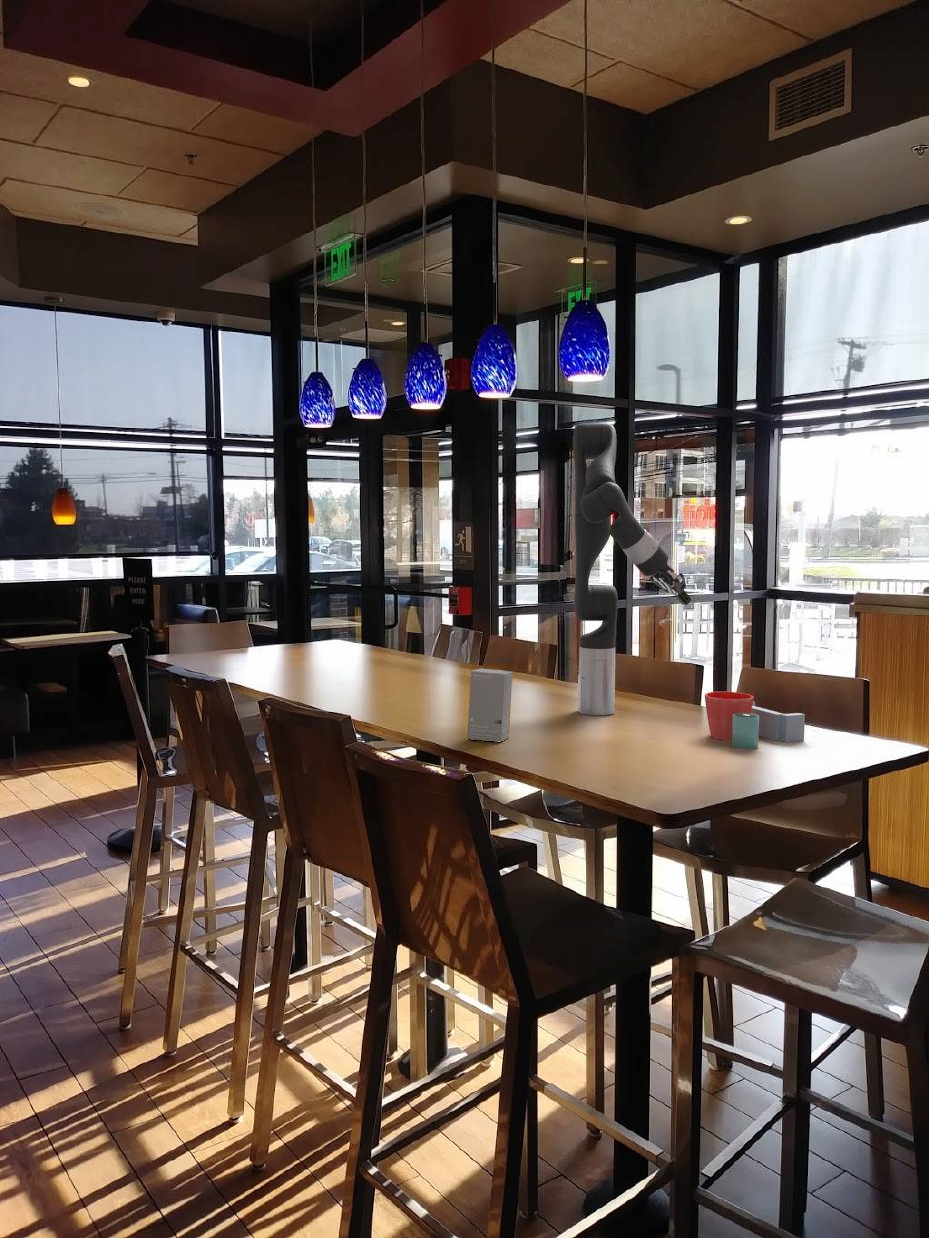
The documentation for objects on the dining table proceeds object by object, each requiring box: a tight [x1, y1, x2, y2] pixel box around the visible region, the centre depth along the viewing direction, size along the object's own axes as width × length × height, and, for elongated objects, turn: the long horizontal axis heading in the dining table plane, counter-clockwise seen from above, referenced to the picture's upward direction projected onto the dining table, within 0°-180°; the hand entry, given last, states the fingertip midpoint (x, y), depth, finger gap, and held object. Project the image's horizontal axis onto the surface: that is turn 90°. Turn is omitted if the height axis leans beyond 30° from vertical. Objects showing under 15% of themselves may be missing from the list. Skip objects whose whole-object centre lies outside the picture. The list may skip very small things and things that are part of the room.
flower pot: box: [704, 691, 754, 741], centre depth 232 cm, size 11×11×10 cm
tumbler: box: [731, 713, 759, 750], centre depth 221 cm, size 6×6×7 cm
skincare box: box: [467, 668, 514, 742], centre depth 227 cm, size 8×7×16 cm
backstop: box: [751, 700, 806, 743], centre depth 236 cm, size 6×20×6 cm, turn 21°
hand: (687, 602), depth 247 cm, fingers closed
